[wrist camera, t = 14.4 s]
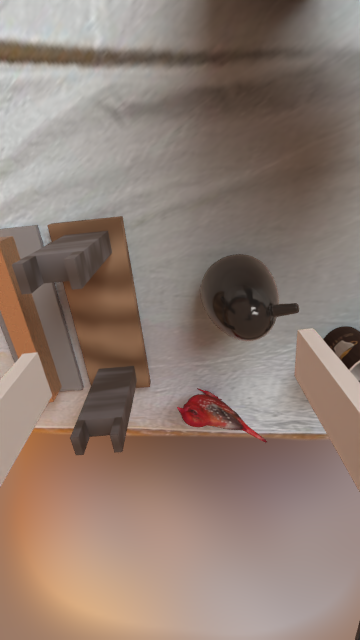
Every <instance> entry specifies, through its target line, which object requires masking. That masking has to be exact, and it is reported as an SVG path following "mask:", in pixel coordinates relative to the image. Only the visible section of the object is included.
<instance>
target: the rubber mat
mask: <svg viewBox="0 0 360 640" xmlns="http://www.w3.org/2000/svg"><path fill="white" fill-rule="evenodd" d="M9 236H13V237H14V240H15V244H16V247H17V250H18V253H19V256H20V259H22V258H24V257H26V256H28V255H30V254H32V253H33V252H35V251H37V250H39V249H41V248H42V247H44V246H43V242H42V239H41V235H40V232H39V228H38V225H34V226H24V227H15V228H5V229H0V237H9ZM32 296H33V299H34V302H35V306H36V309H37V312H38V315H39V318H40V321H41V324H42V327H43V330H44V333H45V337H46V340H47V343H48V346H49V349H50V352H51V355H52V358H53V361H54V365H55V368H56V371H57V374H58V377H59V380H60V383H61V386H62V387H61V389H60V391H73V390H83V387H84V386H83V383H82V379H81V376H80V372H79V369H78V365H77V361H76V358H75V354H74V351H73V347H72V344H71V340H70V337H69V333H68V330H67V326H66V323H65V319H64V316H63V312H62V309H61V305H60V302H59V298H58V295H57V291H56V288H55V284H54V283H44V284H43V285H41V286H40V287H39V288H38V289H37V290H35V291H34V292H33V293H32ZM0 326H1V328H2V331H3V333H4V336H5V338H6V341H7V344H8V346H9V349H10V351H11V354H12V357H13V359H14V362H16V361H17V360H18V356H17V353H16V351H15V348H14V345H13V343H12V340H11V338H10V335H9V332H8V330H7V327H6V324H5V322H4V319H3V316H2V314H1V311H0ZM60 391H59V392H60Z"/></svg>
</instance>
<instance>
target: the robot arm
mask: <svg viewBox="0 0 360 640" xmlns="http://www.w3.org/2000/svg"><path fill="white" fill-rule="evenodd" d="M295 378H296V379H297V381H298V383H299V385H300V387H301V388H302V390H303V392H304V394H305V395H306V397H307V399H308V401H309V403H310V404H311V406H312V408H313V410H314V411H315V413H316V415H317V417H318V419H319V420H320V422H321V424H322V426H323V428H324V429H325V431H326V433H327V435H328V436H329V438H330V440H331V442H332V444H333V445H334V447H335V449H336V451H337V452H338V454H339V456H340V458H341V460H342V461H343V463H344V465H345V467H346V468H347V470H348V472H349V474H350V475H351V477H352V479H353V481H354V483H355V484H356V486H357V488H358V490H359V492H360V381H358V380H357V379H356V378H355V377H354V375H353V374H352V373H351V372H350V371H349V370H348V368H347V367H346V366H345V365H344V364H343V362H342V361H341V360H340V359H339V358H338V357H337V355H336V354H335V353H334V352H333V351H332V350H331V348H330V347H329V346H328V345H327V344H326V343H325V341H324V340H323V339H322V338H321V337H320V335H319V334H318V333H317V332H316V331H315V330H314V328H313V329H301V330H298V333H297V348H296V362H295ZM51 397H52V393H51V390H50V387H49V384H48V381H47V378H46V376H45V373H44V370H43V367H42V364H41V361H40V358H39V355H38V352H37V353H25V354H22V355H21V357H20V358H19V359H18V360H17V361H16V362H15V364H14V365H13V366H12V367H11V368H10V369H9V370H8V372H7V373H6V374H5V375H4V376H3V377H2V379H1V380H0V486H1V485H2V483H3V481H4V479H5V477H6V476H7V474H8V472H9V471H10V469H11V467H12V465H13V464H14V462H15V460H16V458H17V457H18V455H19V453H20V451H21V450H22V448H23V446H24V444H25V443H26V441H27V439H28V437H29V435H30V434H31V432H32V430H33V429H34V427H35V425H36V423H37V422H38V420H39V418H40V416H41V414H42V413H43V411H44V409H45V407H46V406H47V404H48V402H49V400H50V399H51ZM355 640H360V622H359V626H358V630H357V633H356V637H355Z"/></svg>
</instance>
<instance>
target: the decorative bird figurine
mask: <svg viewBox="0 0 360 640" xmlns="http://www.w3.org/2000/svg"><path fill="white" fill-rule="evenodd" d="M197 389H198V388H197ZM198 390H200V391H203V392H204V393H205V394H206V395H195V396H193V397H192V398H190V399H189V400H188V402H187V403H186V404H185V405H184V407H183V408H178V407H177V408H178V410H179V412H180V413H181V415H182V418H183V420H184V421H185V422H186V423H187V424H188V425H190V426H193V427H203V426H206V425H209V426H215V427H219V428H223V429H231V430H243V431H245V432H247V433H249V434H251V435H253V436H254V437H256V438H258V439H260V440H262V441H264V442H267V441H266V440H265V439H264V438H263V437H261V436H260V435H259V434H257V433H256V432H255V431H254V430H252V429H251V428H250V427H248V426H247V425H246V424H245V423H244V422H243V420H242V419H241V418H240V417H239V415H238V414H237V413H236V412H235V411H233V410H232V409H231V408H230V407H229V406H227V405H226V404H225V403H224V402H222V401H221V400H222V399H218V397H217V396H215V395H214V394H212V393H210V392H208V391H204V390H201V389H198Z"/></svg>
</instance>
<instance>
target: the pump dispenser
mask: <svg viewBox="0 0 360 640" xmlns="http://www.w3.org/2000/svg"><path fill="white" fill-rule="evenodd" d="M200 294H201V300H202V304H203V307H204V309H205V311H206V313H207V314H208V316H209V318H210V319H211V320H212V322H213V323H214V324H215V325H216V326H217V327H218V328H219V329H220V330H222V331H223V332H224V333H226V334H227V335H229V336H231V337H233V338H235V339H238V340H242V341H254V340H257V339H260V338H262V337H264V336H265V335H266V334H267V333H268V332H269V331H270V330H271V329H272V327H273V326H274V324H275V321H276V318H277V317H279V316H284V315H289V314H294V313H298V312H299V306H298V304H297V303H292V304H279V295H278V290H277V286H276V283H275V280H274V278H273V276H272V274H271V272H270V271H269V269H268V268H267V267H266V266H265V265H264V264H263V263H262V262H261V261H260V260H258V259H256V258H254V257H252V256H249V255H243V254H236V255H230V256H226V257H224V258H222V259H220V260H218V261H217V262H215V263H214V264H213V265H212V266H211V267H210V268H209V269H208V270H207V272H206V273H205V275H204V277H203V280H202V283H201V289H200Z"/></svg>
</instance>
